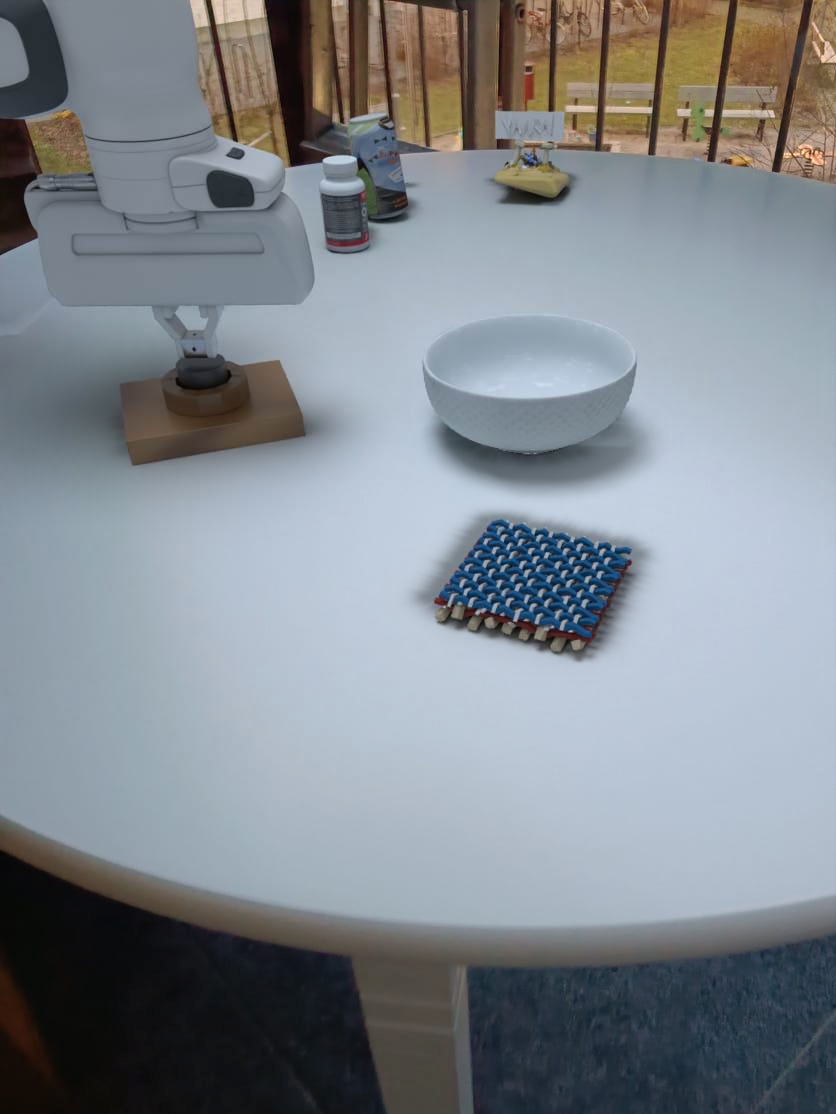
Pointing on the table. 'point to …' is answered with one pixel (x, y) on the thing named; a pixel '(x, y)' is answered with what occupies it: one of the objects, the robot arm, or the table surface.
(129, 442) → the button box
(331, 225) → the pill bottle
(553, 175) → the miniature sign display
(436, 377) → the cereal bowl
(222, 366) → the button
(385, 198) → the beverage can
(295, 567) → the table surface
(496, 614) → the woven mat
